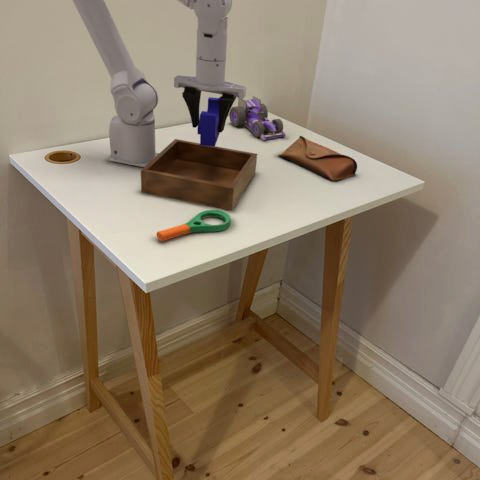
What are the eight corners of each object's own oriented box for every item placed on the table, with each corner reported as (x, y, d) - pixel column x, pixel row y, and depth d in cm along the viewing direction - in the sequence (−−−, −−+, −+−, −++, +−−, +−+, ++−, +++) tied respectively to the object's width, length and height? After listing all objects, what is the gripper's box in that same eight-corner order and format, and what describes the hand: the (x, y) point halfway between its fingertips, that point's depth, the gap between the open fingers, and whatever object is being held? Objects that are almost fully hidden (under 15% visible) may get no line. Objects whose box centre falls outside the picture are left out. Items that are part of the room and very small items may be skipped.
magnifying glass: (216, 212, 100) (217, 204, 98) (237, 225, 96) (237, 217, 95) (149, 234, 91) (149, 225, 90) (169, 249, 88) (169, 240, 87)
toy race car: (259, 142, 131) (262, 116, 127) (228, 123, 140) (230, 98, 136) (289, 137, 135) (293, 111, 131) (257, 119, 144) (259, 94, 140)
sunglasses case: (275, 154, 124) (288, 127, 122) (289, 163, 129) (302, 138, 128) (334, 181, 114) (349, 152, 113) (347, 189, 120) (361, 162, 118)
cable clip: (201, 124, 114) (202, 96, 110) (221, 126, 114) (222, 98, 110) (192, 144, 105) (192, 114, 101) (214, 146, 105) (215, 116, 101)
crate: (141, 192, 104) (140, 170, 101) (175, 158, 118) (175, 138, 115) (232, 210, 101) (233, 188, 98) (255, 173, 115) (257, 153, 112)
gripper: (168, 56, 98) (168, 128, 107) (241, 68, 96) (235, 140, 104) (181, 49, 103) (180, 118, 112) (251, 60, 101) (244, 129, 110)
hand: (208, 128), depth 108 cm, fingers closed on cable clip, 5 cm apart
